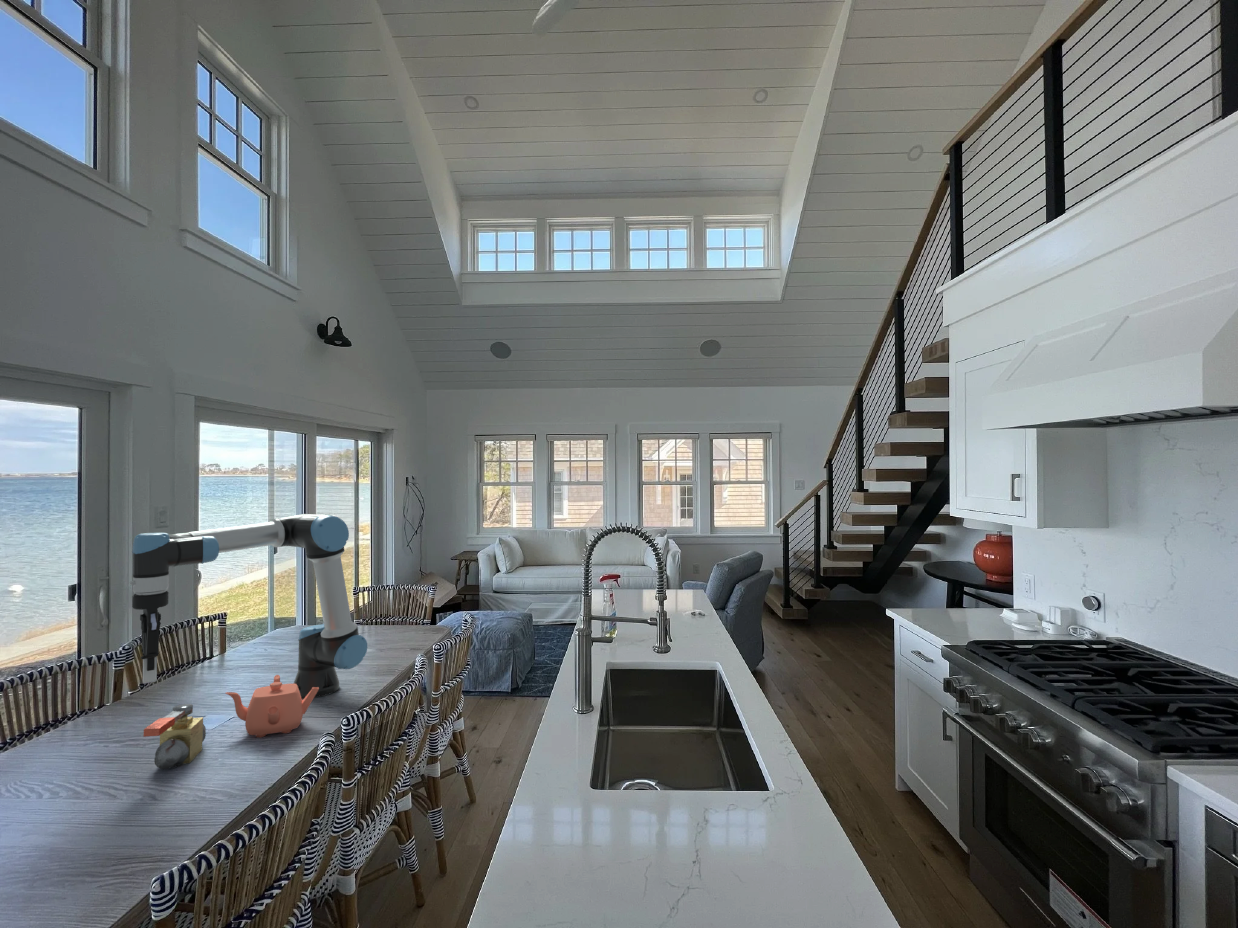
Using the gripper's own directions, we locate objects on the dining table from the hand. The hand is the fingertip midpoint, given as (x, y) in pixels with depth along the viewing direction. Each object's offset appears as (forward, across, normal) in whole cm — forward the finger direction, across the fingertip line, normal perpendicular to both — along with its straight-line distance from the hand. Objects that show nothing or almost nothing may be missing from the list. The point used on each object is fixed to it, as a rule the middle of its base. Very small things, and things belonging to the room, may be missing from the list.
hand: (149, 681), depth 157 cm
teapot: (+23, -3, +30) cm, 38 cm away
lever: (+10, +6, +4) cm, 12 cm away
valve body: (+22, +1, +7) cm, 23 cm away
